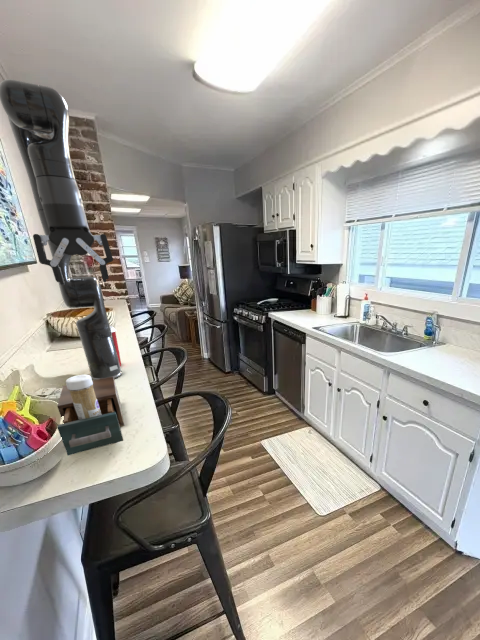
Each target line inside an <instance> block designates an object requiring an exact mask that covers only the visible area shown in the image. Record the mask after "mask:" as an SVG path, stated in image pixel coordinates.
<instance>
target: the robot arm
mask: <svg viewBox="0 0 480 640" xmlns="http://www.w3.org/2000/svg"><path fill="white" fill-rule="evenodd" d="M0 104H1V106H2V108H3V110H4V112H5V114H6V116H7V118H8V122H9V125H10V128H11V129H10V130H11V132H12V134H13V137H14V141H15V143H16V145H17V148H18V151H19V154H20V157H21V160H22V163H23V165H24V168H25V170H26V174H27V177H28V180H29V184H30V187H31V191H32V195H33V199H34V204H35V206H36V210H37V214H38V217H39V220H40V224H41V227H42V229H43V232H44V234H39V233H34V234H33V235H32V239H33V242H34V246H35V251H36V254H37V258H38V262H39V263H40V264H42V265H44V266H48V267H50V268H51V270H52V273H53V277H54V279H55V281H56V283H58V286H59V291H60V294H61V298H62V300H63V303H64V304H65V306H66V307H67V308H68V309H83V308H84V309H85V308H93V311H91V312H90V313H89V314H87V315H86V316H83V317H82V318H79V319H78V320H76V323H75V324H76V329H77V331H78V335H79V339H80V341H81V346H82V348H83V352H84V356H85V358H86V359H85V360H86V362H87V365H88V369H89V373H90V376H91V379H92V380H98V379H103V378H109V377H114V379H116V378H119V377H121V375H122V374H123V371H122V368H121V366H120V364H119V360H118V356H117V352H116V348H115V345H114V341H113V337H112V333H111V329H110V326H111V325H110V321H109V318H108V315H107V311H106V306H105V299H104V295H103V290H102V286H101V283H100V281H99V280H98V278H97V277H96V276H73V277H72V276H71V277H70V275H69V269H70V263H71V259H72V256H76V255H78V256H85V255H87V254H89V255H90V256H91V257H92V258H93V259H94V260H95V261H96V262H98V263H99V265H98V266H99V271H100V274H101V278H102V282H103V283H107V280H109V277H110V276H109V273H108V269H107V265H108V264H110V263H112V262H113V261H114V258H113V253H112V251H111V248H110V243H109V241H108V237H107V235H106V234H105V233H102V234H95V235H93V234H92V233H91V230H90V227H89V223H88V219H87V214H86V211H85V207H84V202H83V201H84V200H83V198H82V195H81V192H80V189H79V186H78V183H77V180H76V176H75V173H74V169H73V165H72V159H71V153H70V145H69V144H70V143H69V142H70V141H69V139H70V138H69V137H70V111H69V108H68V104H67V102H66V100H65V99H64V97H63V96H62V95H61V94H60V92H59V91H58V90H57V89H55V88H53V87H51V86H47V85H43V84H37V83H33V82H27V81H23V80H17V79H12V78H7V79H3V80H2V81H1V82H0ZM95 241H96V242H97V243H98V245H100V246H102V247H103V251H104V254H105V257H104V258H102V257H101V256H100V255H99V254H98V253H97V252H96V251H94V250H93V249H92V246H93V244H94V242H95ZM47 245H48V247H49V250H50V254H51V259H48V258H47V252H46V249H45V247H46V246H47Z"/></svg>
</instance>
